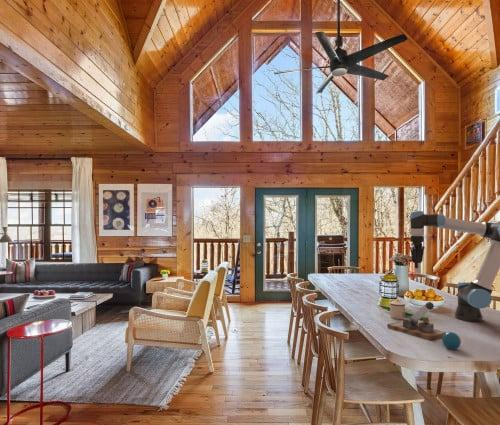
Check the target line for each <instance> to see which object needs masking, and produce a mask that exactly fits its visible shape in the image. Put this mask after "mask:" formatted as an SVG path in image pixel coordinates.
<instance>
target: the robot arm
mask: <svg viewBox="0 0 500 425" xmlns="http://www.w3.org/2000/svg"><path fill="white" fill-rule="evenodd" d="M409 220H410V222H409V223H410V230H409V231H410V242H411V246H409V250H410V256H411V261H412V263H414V274H421V263H423V260H424V253H425V252H424V251H425V246H424V245H423V243H424V241H425V237H424V235H425V234H424V233H425V232H424V231H425V230H424V228H425V227H433V228H439V229H445V230H450V231H455V232H456V231H457V232H461V233H467V234H474V235H479V237H480V238H481V237H482V238H485V239H489V241H490V246H489V249H488V251H487V252H486V254H485V257H484V260H483V261H482V264H481V266H480V268H479V270H478V273H477V274H476V276H475V279H473V280H471V281H470V282H468V281H467V282H466V281H464V282H463V281H459V282H457V286H456V288H457V289H456V290H457V306H456V309H455V311H454V318H456V319H458V320H462V321H464V322H465V321H466V322H472V323H473V322H477V323H478V322H483V321H484V320H483V318H484V317H483V314H482V311H481V309H485V308H487V307H489V306H491V303H492V301H493V299H492V293H493V288H492V285H493V283H494V281H495V279H496V277H497V274H498V272H499V270H500V221H499V222H489V221H488V222H487V221H483V222H482V221H481V222H477V221H471V220H466V219H465V220H463V219H458V218H452V217H446V215H444V214H442V213H434V214H433V213H431V214H430V213H429V214H427V213H424V211H422V210H412V211H411V212H410V218H409Z"/></svg>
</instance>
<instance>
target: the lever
mask: <svg viewBox="0 0 500 425" xmlns="http://www.w3.org/2000/svg"><path fill="white" fill-rule="evenodd" d="M434 305H435V304H434V303H433V302H431V301H427V302H425V304H424V305H422V307H421V308H419V309H418V310H417V311H416V312H415V313H414V315H413V316H411V317H410V316H409V318H408V319H410V320H412V325H413V324H415V323H416V322H417V321H418V322H419V320H421V319H420V318H422V317H423V316H425V315H427V314H428V313H429V312H430V311H431V310H433V309H434V308H435V307H434Z"/></svg>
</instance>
